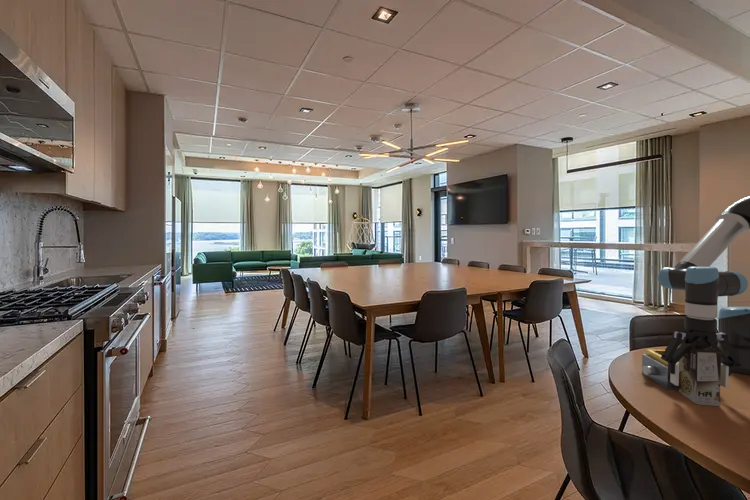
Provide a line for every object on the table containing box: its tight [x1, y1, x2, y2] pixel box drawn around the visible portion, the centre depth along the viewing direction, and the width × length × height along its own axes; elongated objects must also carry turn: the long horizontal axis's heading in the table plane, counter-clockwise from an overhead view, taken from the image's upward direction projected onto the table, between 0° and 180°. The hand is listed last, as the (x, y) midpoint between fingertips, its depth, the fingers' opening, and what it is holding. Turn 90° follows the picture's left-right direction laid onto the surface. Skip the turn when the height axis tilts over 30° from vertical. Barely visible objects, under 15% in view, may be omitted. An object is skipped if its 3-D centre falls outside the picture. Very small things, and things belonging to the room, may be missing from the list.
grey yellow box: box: [641, 348, 679, 391], centre depth 127 cm, size 17×14×9 cm
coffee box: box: [678, 343, 721, 407], centre depth 113 cm, size 9×6×16 cm
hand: (698, 385), depth 113 cm, fingers open, 13 cm apart
